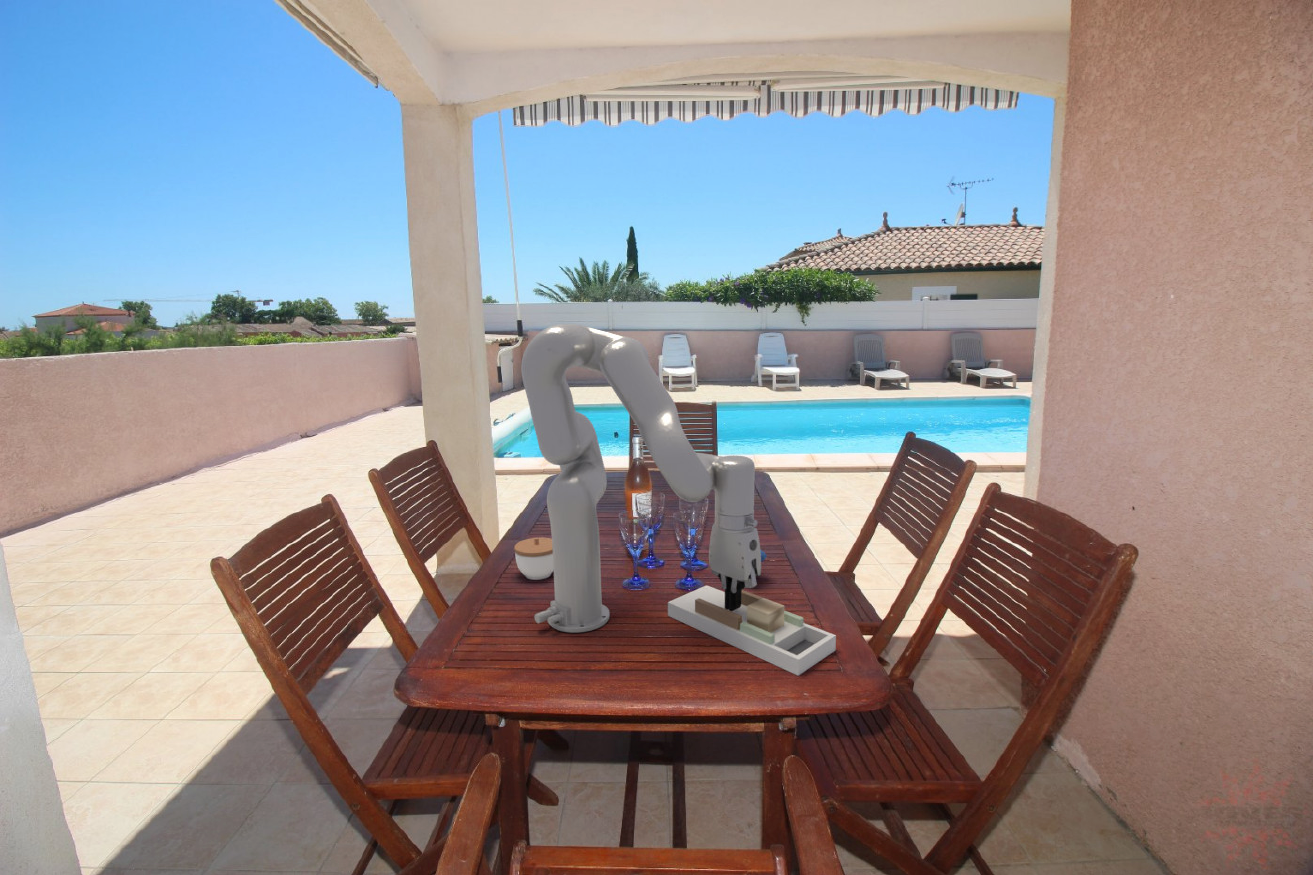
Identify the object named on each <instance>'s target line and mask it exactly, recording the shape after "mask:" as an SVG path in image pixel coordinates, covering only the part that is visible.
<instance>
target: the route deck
mask: <svg viewBox="0 0 1313 875" xmlns="http://www.w3.org/2000/svg"><path fill="white" fill-rule="evenodd" d="M762 598H764V597H763V596H760V595H757V594H754V593H752V592H750V591H747V590H744V589H743V590H742V593H741V607H740V608H738V609H736V610H734V611H729V609H728V610H727V609H725V591H723V590H720V589H717V588H715V587H712V586H709V585H704V586H702V587H699V588H697V589H695V590H693V591H690V592H688V593H686V594H684V595H681V596H679V597H677V598H674V599H672V600H669V601H668V602H667V616H668V617H670V618H672V619H674V620H676V621H678V622H680V623H684V624H685V625H687V626H690V627H692V628H694V629H696V630H698V631H700V632H703V633H704V634H706V635H709V636H711V637H713V638H716V639H718V640H720V641H722V642H725V643H726V644H728V645H731V646H732V647H735V648H737V649H740V650H742V651H744V652H746V653H749V654H750V655H751V656H752V655H753V656H754V657H757V658H759V659H761V660H764V661H765V662H768V663H770V664H772V665H774V666H775V667H778V668H780V669H783V670H785V671H787V672H789V673H792V674H793V675H796V676H801V675H802V674H804V673H805V672H806V671H807V670H808V669H811V668H812V667H813V666H814V665H817V663H819V662H820V661H822V660H823V659H825V658H826V657H828V656H829V655H831V654H832V653H834V652H836V647H837V646H836V645H837V644H836V642H837V641H836V640H837V635H836V634H834V633H831V632H828V631H825V630H823V629H820V628H818V627H815V626H813V625H810V624H807V623H805V622H804V617H803V616H801V615H797V614H795V613H792V612H789V611H787V610H785V611H784V626H782V627H780V628H779V629H777V630H775V631H774V632H772V633H770V632H768V631H765V630H763V629H760V628H758V627H756V626H753V625H751V624H748V623H747V606H748V605H750V604H752V603H754V602H756V601H758V600H760V599H762Z"/></svg>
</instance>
